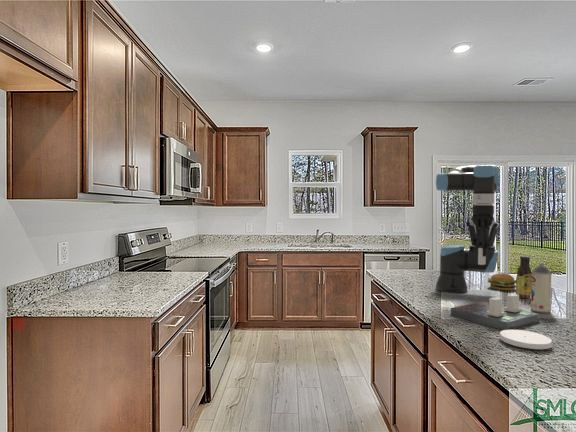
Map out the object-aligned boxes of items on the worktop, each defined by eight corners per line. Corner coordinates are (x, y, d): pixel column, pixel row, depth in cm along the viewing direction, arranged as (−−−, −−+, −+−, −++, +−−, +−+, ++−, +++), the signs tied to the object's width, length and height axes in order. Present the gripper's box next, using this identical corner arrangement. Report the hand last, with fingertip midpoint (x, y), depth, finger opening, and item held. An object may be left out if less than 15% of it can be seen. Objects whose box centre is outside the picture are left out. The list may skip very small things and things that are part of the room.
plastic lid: (503, 334, 131) (504, 326, 131) (553, 343, 122) (553, 335, 122) (495, 345, 120) (495, 337, 120) (549, 356, 111) (549, 347, 111)
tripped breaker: (486, 314, 142) (486, 298, 142) (493, 312, 145) (494, 296, 145) (497, 316, 139) (497, 300, 139) (504, 315, 142) (505, 298, 142)
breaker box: (450, 315, 152) (450, 307, 152) (482, 308, 164) (482, 300, 164) (507, 330, 133) (507, 321, 133) (538, 321, 145) (538, 313, 145)
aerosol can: (530, 308, 165) (531, 262, 165) (549, 310, 161) (550, 263, 161) (531, 312, 159) (532, 263, 159) (551, 314, 156) (552, 265, 155)
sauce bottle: (526, 299, 182) (527, 257, 181) (513, 296, 187) (514, 256, 187) (534, 298, 185) (535, 257, 184) (521, 295, 190) (522, 255, 190)
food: (481, 287, 210) (481, 272, 210) (498, 285, 216) (499, 271, 216) (505, 292, 197) (505, 276, 197) (522, 290, 203) (523, 275, 203)
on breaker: (503, 310, 149) (504, 294, 149) (510, 308, 151) (511, 293, 151) (514, 312, 145) (514, 296, 145) (521, 310, 148) (521, 295, 148)
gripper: (462, 204, 155) (461, 262, 156) (494, 204, 144) (492, 267, 145) (473, 204, 159) (471, 261, 160) (505, 204, 148) (503, 265, 149)
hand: (481, 264), depth 152 cm, fingers closed
